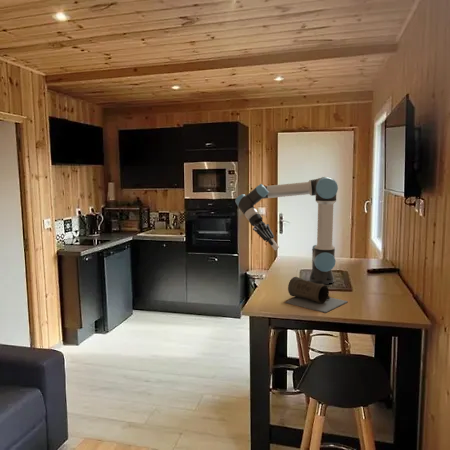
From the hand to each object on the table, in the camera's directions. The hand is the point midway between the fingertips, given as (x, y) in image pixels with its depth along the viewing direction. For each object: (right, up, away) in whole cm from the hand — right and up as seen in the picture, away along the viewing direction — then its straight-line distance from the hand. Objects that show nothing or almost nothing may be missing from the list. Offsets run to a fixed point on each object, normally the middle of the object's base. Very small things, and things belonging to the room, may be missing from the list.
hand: (276, 248), depth 234 cm
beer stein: (+10, -21, -3) cm, 23 cm away
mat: (+19, -27, -15) cm, 36 cm away
